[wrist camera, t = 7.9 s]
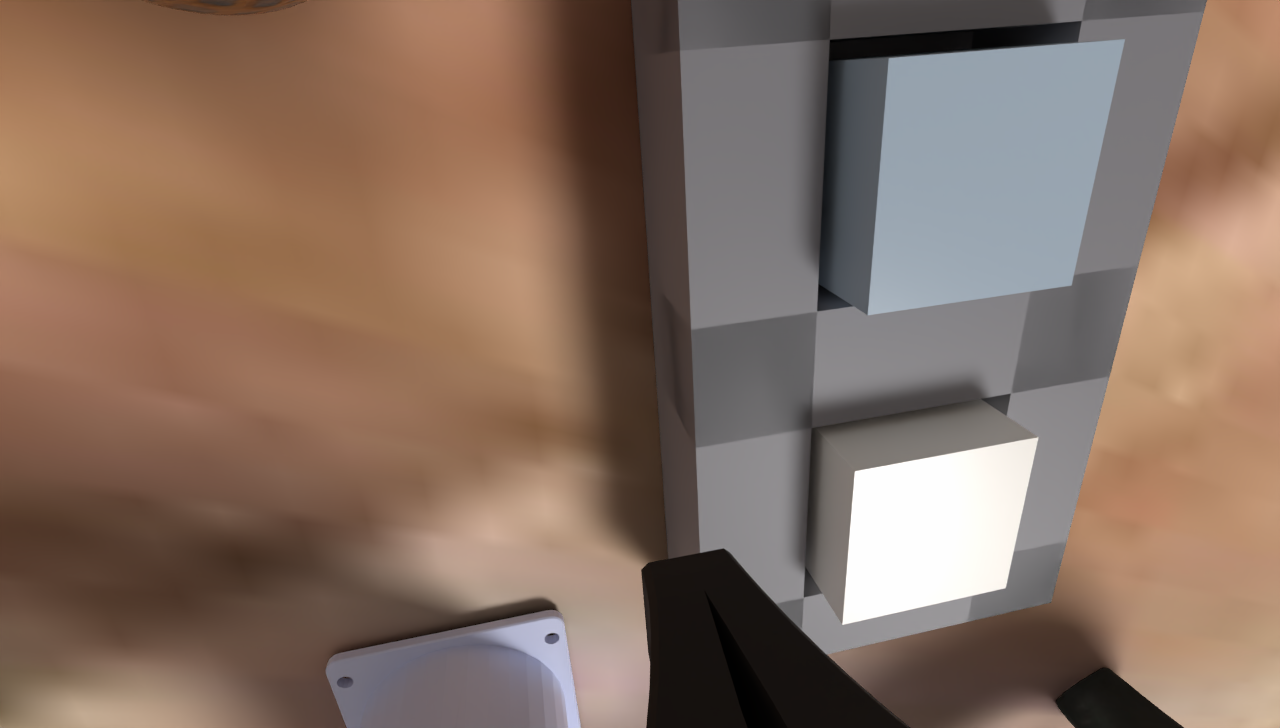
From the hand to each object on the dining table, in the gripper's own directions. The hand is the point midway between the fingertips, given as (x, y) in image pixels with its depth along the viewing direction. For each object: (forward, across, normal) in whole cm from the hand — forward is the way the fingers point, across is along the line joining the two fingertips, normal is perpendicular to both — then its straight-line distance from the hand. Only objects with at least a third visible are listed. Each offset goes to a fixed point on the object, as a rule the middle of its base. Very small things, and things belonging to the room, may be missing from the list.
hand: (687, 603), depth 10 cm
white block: (+8, -8, +4) cm, 12 cm away
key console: (+10, -8, 0) cm, 13 cm away
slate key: (+9, -8, -5) cm, 13 cm away
